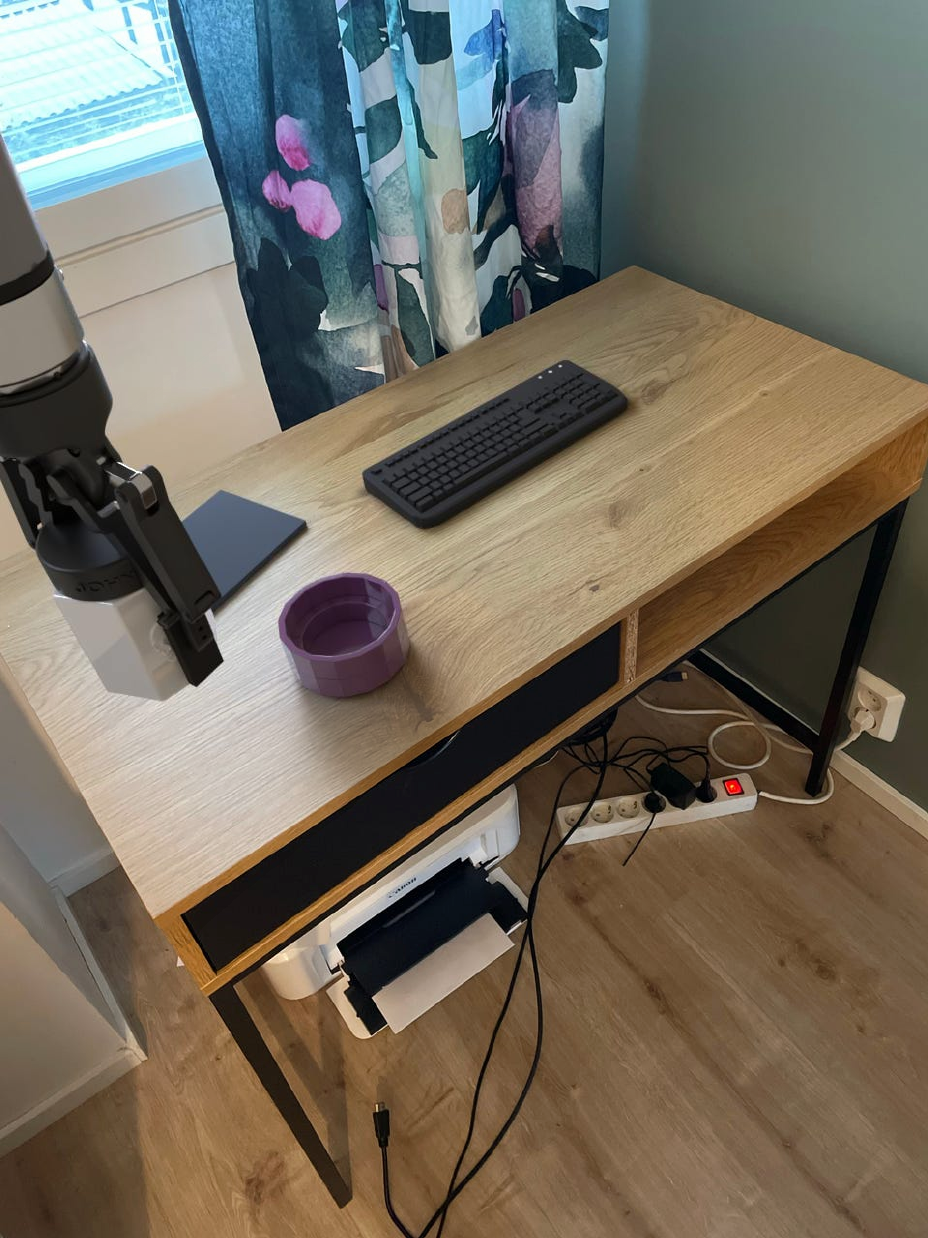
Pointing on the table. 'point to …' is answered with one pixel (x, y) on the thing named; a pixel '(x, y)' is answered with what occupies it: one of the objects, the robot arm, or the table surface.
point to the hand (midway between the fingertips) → (159, 648)
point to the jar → (110, 611)
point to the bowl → (344, 634)
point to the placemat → (237, 538)
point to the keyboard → (493, 444)
